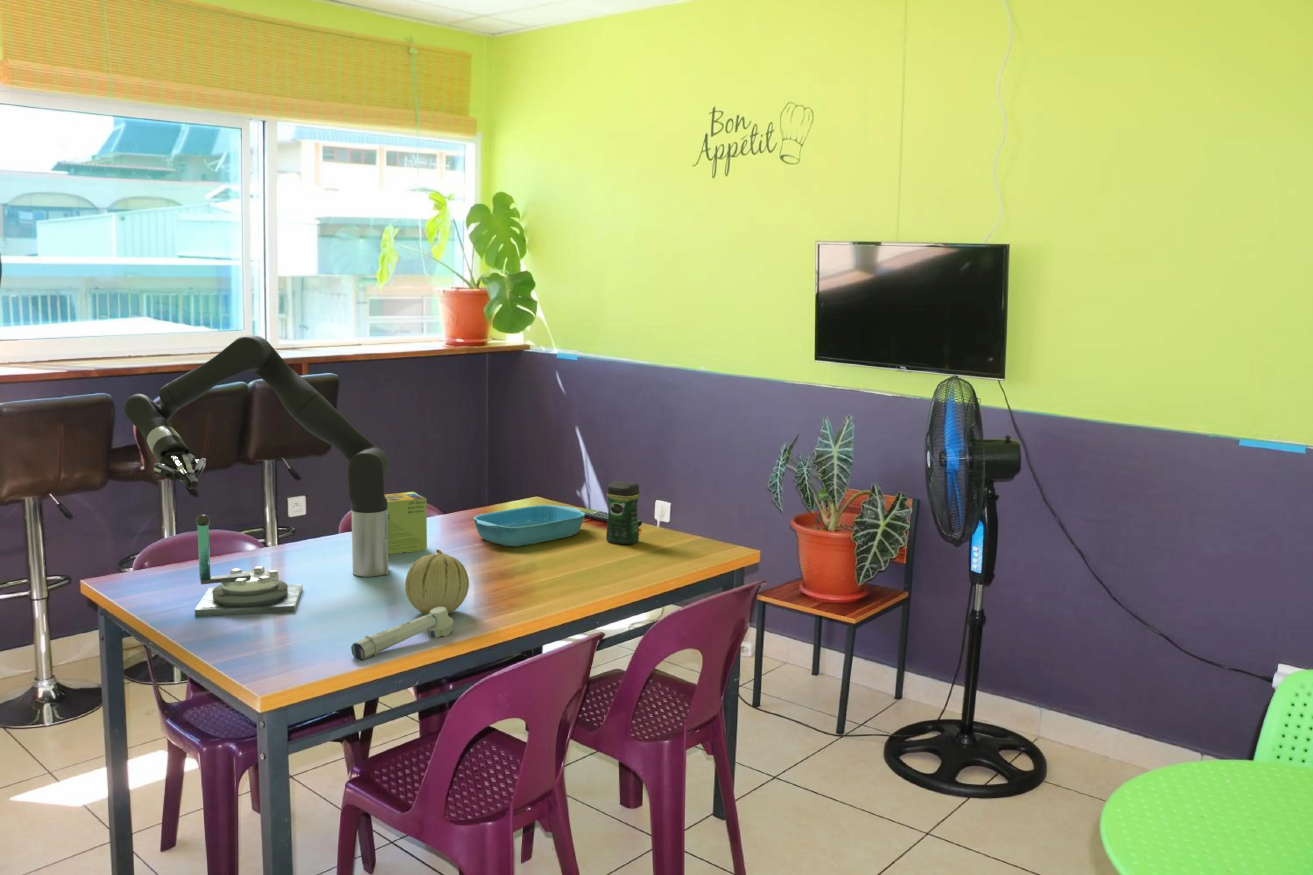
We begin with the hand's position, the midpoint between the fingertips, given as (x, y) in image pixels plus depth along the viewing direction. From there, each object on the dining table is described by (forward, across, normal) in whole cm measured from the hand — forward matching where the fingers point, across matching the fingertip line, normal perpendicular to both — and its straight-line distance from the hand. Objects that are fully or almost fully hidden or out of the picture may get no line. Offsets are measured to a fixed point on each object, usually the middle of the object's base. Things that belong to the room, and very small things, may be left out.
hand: (193, 485), depth 262 cm
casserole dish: (+15, +100, +24) cm, 104 cm away
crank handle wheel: (+22, +5, +16) cm, 27 cm away
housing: (+24, +7, +19) cm, 31 cm away
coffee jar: (+35, +118, +14) cm, 124 cm away
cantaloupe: (+56, +37, +4) cm, 67 cm away
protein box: (+4, +60, +29) cm, 67 cm away
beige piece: (+69, +20, -2) cm, 72 cm away
